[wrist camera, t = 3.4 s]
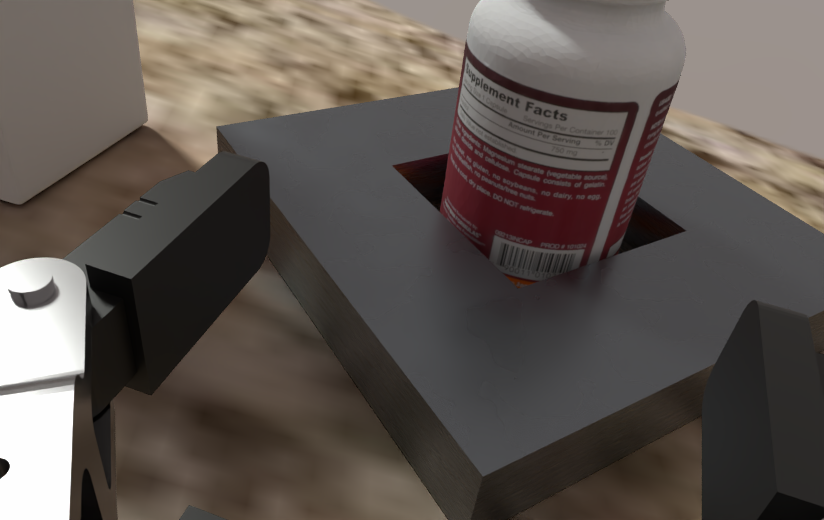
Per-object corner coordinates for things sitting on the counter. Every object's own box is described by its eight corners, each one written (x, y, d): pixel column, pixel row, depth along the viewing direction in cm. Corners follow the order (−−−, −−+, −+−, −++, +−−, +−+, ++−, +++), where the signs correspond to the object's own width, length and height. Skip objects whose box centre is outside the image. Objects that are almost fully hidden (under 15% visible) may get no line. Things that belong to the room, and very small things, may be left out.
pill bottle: (528, 194, 28) (605, -109, 22) (644, 283, 25) (780, -50, 18) (398, 231, 25) (441, -107, 19) (507, 340, 22) (609, -36, 15)
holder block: (463, 542, 16) (483, 476, 15) (220, 187, 26) (216, 126, 25) (853, 334, 24) (893, 276, 22) (546, 120, 34) (559, 71, 32)
